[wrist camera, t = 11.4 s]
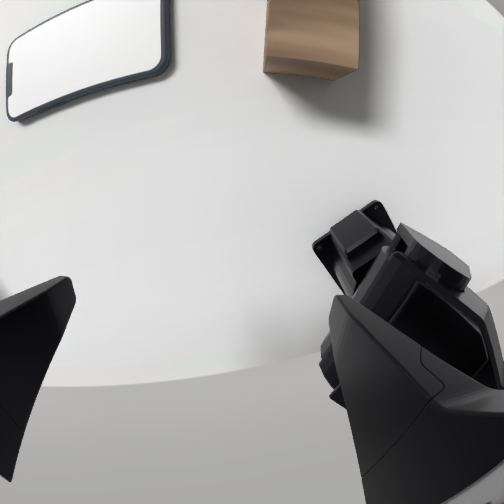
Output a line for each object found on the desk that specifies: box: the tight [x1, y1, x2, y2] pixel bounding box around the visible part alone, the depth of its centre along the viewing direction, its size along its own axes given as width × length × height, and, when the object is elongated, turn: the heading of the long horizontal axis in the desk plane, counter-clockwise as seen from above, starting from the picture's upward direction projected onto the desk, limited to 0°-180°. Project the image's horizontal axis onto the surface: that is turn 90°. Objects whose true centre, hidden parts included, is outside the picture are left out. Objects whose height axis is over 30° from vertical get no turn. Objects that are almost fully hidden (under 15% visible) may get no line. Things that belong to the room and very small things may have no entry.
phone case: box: [6, 0, 171, 122], centre depth 15 cm, size 9×2×16 cm
